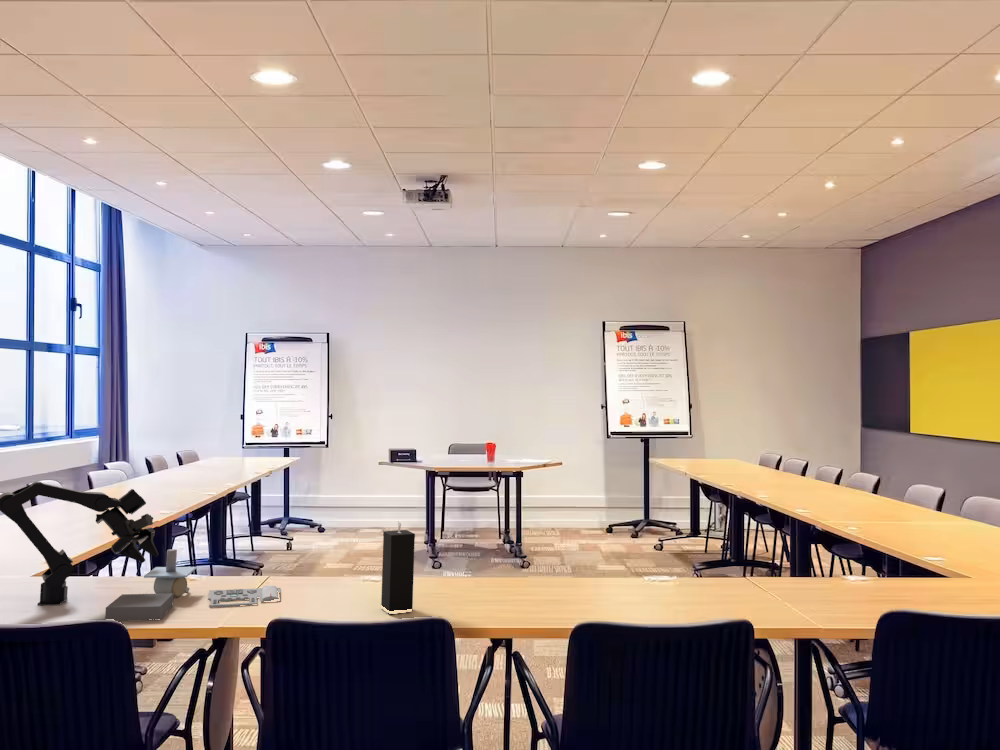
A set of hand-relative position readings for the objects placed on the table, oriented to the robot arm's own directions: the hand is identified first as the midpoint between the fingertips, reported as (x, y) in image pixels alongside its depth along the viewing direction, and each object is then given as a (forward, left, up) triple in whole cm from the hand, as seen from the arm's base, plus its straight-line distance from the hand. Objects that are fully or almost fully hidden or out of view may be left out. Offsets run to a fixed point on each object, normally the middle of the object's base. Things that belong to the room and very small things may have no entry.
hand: (150, 558), depth 243 cm
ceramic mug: (+7, +1, -13) cm, 15 cm away
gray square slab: (+3, -20, -12) cm, 24 cm away
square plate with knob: (+6, 0, -5) cm, 8 cm away
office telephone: (+31, -4, -13) cm, 34 cm away
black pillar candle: (+80, -24, -13) cm, 84 cm away
